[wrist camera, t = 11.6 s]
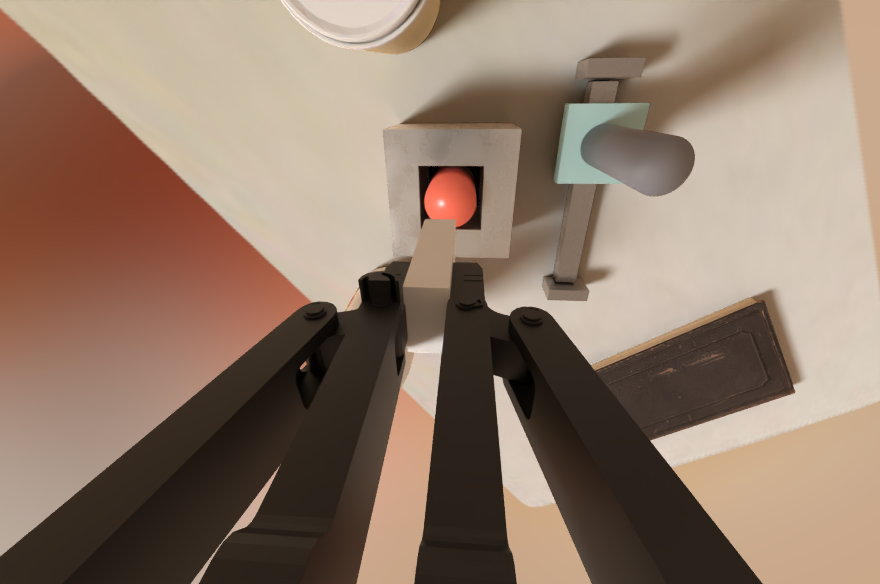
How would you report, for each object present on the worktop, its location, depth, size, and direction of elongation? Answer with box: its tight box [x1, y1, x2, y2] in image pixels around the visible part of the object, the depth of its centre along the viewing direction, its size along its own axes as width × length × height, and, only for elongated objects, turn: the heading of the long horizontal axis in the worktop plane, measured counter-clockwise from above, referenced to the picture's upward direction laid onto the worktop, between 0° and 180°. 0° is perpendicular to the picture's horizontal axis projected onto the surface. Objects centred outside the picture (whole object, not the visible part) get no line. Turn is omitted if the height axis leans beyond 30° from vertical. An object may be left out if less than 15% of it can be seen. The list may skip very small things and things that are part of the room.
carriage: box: [553, 103, 695, 196], centre depth 24 cm, size 6×6×13 cm
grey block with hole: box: [383, 123, 522, 258], centre depth 30 cm, size 10×10×7 cm
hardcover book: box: [591, 297, 795, 440], centre depth 43 cm, size 16×23×2 cm
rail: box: [542, 57, 646, 301], centre depth 31 cm, size 21×4×3 cm, turn 1°
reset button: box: [424, 166, 476, 227], centre depth 28 cm, size 4×4×6 cm
